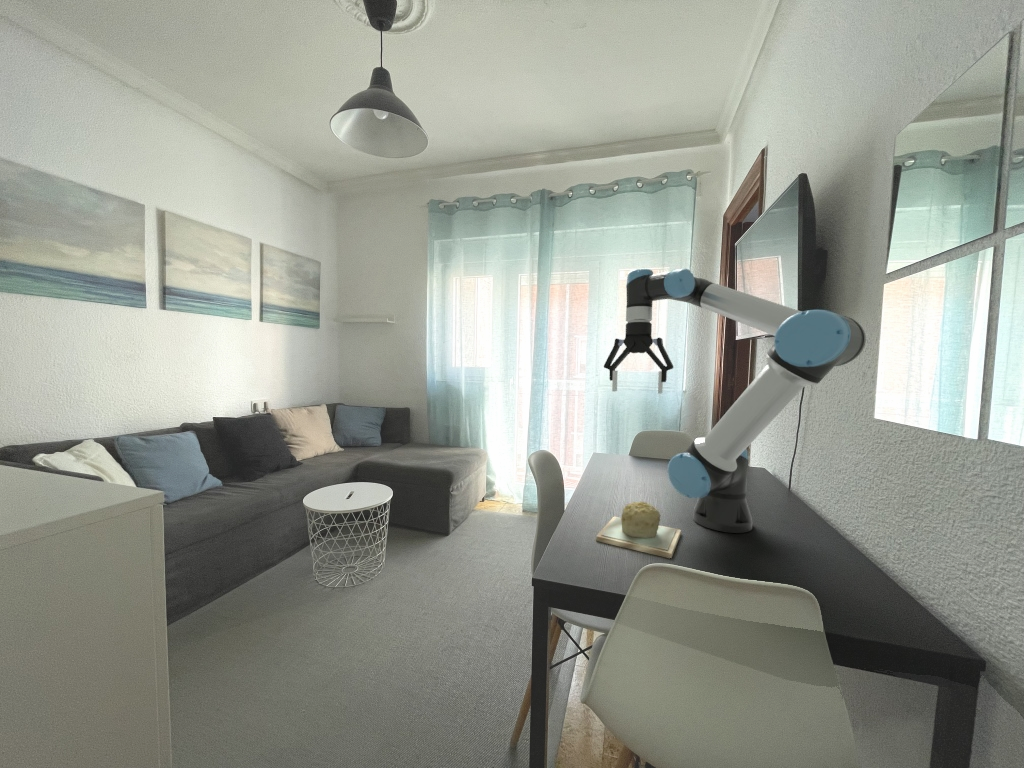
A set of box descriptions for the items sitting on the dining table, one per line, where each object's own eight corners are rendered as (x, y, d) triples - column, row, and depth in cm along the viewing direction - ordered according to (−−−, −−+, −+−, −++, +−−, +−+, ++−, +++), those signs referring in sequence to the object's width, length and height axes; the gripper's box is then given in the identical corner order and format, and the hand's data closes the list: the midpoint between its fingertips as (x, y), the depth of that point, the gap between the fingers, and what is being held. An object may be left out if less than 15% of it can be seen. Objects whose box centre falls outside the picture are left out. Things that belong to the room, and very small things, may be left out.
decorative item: (625, 550, 102) (640, 528, 96) (609, 516, 109) (623, 494, 103) (656, 546, 105) (673, 525, 99) (639, 513, 112) (654, 491, 106)
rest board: (680, 534, 107) (680, 529, 107) (671, 558, 93) (671, 552, 93) (613, 520, 116) (613, 515, 116) (596, 540, 102) (596, 535, 102)
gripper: (684, 321, 118) (682, 393, 119) (602, 325, 131) (600, 390, 132) (681, 319, 112) (678, 394, 113) (594, 322, 124) (593, 391, 125)
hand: (636, 392), depth 122 cm, fingers open, 13 cm apart
